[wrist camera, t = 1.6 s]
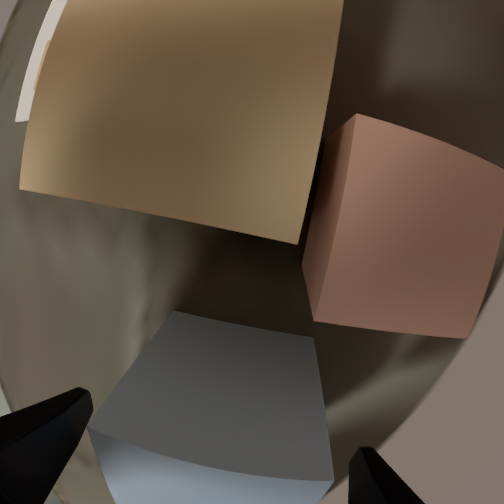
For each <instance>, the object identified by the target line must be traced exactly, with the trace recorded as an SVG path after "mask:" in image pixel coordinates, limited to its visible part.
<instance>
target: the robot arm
mask: <svg viewBox="0 0 504 504" xmlns="http://www.w3.org/2000/svg"><path fill="white" fill-rule="evenodd" d="M92 413H93V403H92V399H91V394H90V392H89V391H88V390H86V389H84V388H81V387H77V388H75V389H72V390H70V391H67V392H65V393H62V394H60V395H57V396H55V397H52V398H50V399H47V400H44V401H42V402H39V403H37V404H34V405H31V406H29V407H26V408H23V409H21V410H18V411H15V412H13V413H10V414H7V415H4V416H1V417H0V504H44V502H45V500H46V499H47V497H48V495H49V493H50V492H51V490H52V488H53V486H54V485H55V483H56V481H57V479H58V478H59V476H60V474H61V473H62V471H63V469H64V467H65V466H66V464H67V462H68V461H69V459H70V457H71V456H72V454H73V452H74V451H75V449H76V447H77V446H78V444H79V442H80V439H81V437H82V435H83V433H84V430H85V428H86V426H87V424H88V422H89V419H90V417H91V415H92ZM348 504H425V503H424V502H423V501H422V500H421V499H420V498H419V497H418V496H417V495H416V494H415V493H414V492H413V491H412V490H411V488H410V487H409V486H408V485H407V484H406V483H405V482H404V481H403V480H402V479H401V478H400V477H399V476H398V475H397V474H396V472H395V471H393V469H392V468H391V467H390V466H389V465H388V464H387V463H386V462H385V461H384V460H383V458H382V457H381V456H380V455H379V454H378V453H377V452H376V451H375V450H374V448H372V447H370V446H361V447H359V448H358V450H357V451H356V453H355V454H354V456H353V457H352V459H351V460H350V463H349V493H348Z"/></svg>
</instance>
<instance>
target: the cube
mask: <svg viewBox="0 0 504 504" xmlns="http://www.w3.org/2000/svg"><path fill="white" fill-rule="evenodd" d="M503 228H504V169H502V168H500V167H499V166H497V165H495V164H493V163H490V162H488V161H486V160H484V159H482V158H480V157H478V156H476V155H473V154H471V153H469V152H467V151H464V150H462V149H460V148H457V147H455V146H453V145H450V144H448V143H445V142H443V141H440V140H438V139H435V138H432V137H430V136H427V135H424V134H422V133H419V132H416V131H413V130H410V129H407V128H404V127H401V126H398V125H395V124H392V123H389V122H385V121H382V120H379V119H375V118H372V117H368V116H364V115H361V114H357V113H356V114H355V115H354V116H353V117H351V118H350V119H349V120H348V121H347V122H345V123H344V124H343V125H342V126H341V127H339V128H338V129H337V130H336V131H335V132H333V133H332V134H331V135H330V136H329V137H327V138H326V139H325V144H324V150H323V156H322V162H321V168H320V173H319V179H318V184H317V190H316V195H315V201H314V206H313V211H312V216H311V221H310V226H309V231H308V236H307V241H306V246H305V250H304V255H303V260H302V264H301V265H302V270H303V274H304V278H305V283H306V288H307V292H308V297H309V301H310V306H311V311H312V316H313V320H314V321H317V322H324V323H330V324H337V325H344V326H351V327H358V328H366V329H373V330H381V331H390V332H398V333H407V334H417V335H427V336H437V337H449V338H461V339H468V337H469V334H470V332H471V330H472V327H473V325H474V322H475V320H476V317H477V315H478V312H479V309H480V307H481V304H482V301H483V298H484V296H485V293H486V290H487V287H488V284H489V281H490V277H491V274H492V271H493V267H494V264H495V260H496V257H497V253H498V249H499V245H500V241H501V237H502V232H503Z"/></svg>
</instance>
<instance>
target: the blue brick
mask: <svg viewBox="0 0 504 504" xmlns="http://www.w3.org/2000/svg"><path fill="white" fill-rule="evenodd" d="M87 429H88V432H89V435H90V439H91V442H92V445H93V448H94V451H95V453H96V456H97V459H98V462H99V465H100V467H101V470H102V472H103V475H104V477H105V480H106V482H107V485H108V487H109V490H110V492H111V494H112V496H113V499H114V501H115V503H116V504H317V503H318V502H319V501H320V500H321V498H322V497H323V496H324V495H325V493H326V492H327V491H328V489H329V488H330V487H331V485H332V484H333V483H334V472H333V464H332V456H331V448H330V440H329V433H328V426H327V419H326V412H325V405H324V399H323V392H322V386H321V379H320V373H319V367H318V361H317V355H316V349H315V344H314V338H313V337H307V336H301V335H295V334H289V333H283V332H277V331H271V330H265V329H260V328H254V327H249V326H244V325H239V324H234V323H229V322H224V321H219V320H214V319H209V318H205V317H200V316H196V315H191V314H187V313H182V312H178V311H173V312H172V313H171V314H170V316H169V317H168V318H167V320H166V321H165V322H164V323H163V325H162V326H161V327H160V329H159V330H158V331H157V333H156V334H155V335H154V336H153V338H152V339H151V340H150V342H149V343H148V344H147V346H146V347H145V348H144V350H143V351H142V352H141V354H140V355H139V356H138V358H137V359H136V360H135V361H134V363H133V364H132V365H131V367H130V368H129V369H128V371H127V372H126V373H125V375H124V376H123V377H122V379H121V380H120V382H119V383H118V384H117V386H116V387H115V388H114V390H113V391H112V392H111V394H110V395H109V396H108V398H107V399H106V400H105V402H104V403H103V405H102V406H101V407H100V409H99V410H98V411H97V413H96V414H95V415H94V417H93V418H92V420H91V421H90V422H89V424H88V425H87Z"/></svg>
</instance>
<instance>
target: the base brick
mask: <svg viewBox="0 0 504 504" xmlns="http://www.w3.org/2000/svg"><path fill="white" fill-rule="evenodd" d="M343 2H344V0H68V1H67V3H66V5H65V7H64V9H63V11H62V14H61V16H60V18H59V21H58V23H57V26H56V28H55V31H54V33H53V36H52V38H51V41H50V44H49V47H48V50H47V52H46V55H45V58H44V62H43V65H42V68H41V71H40V75H39V78H38V82H37V85H36V89H35V93H34V97H33V101H32V106H31V110H30V115H29V120H28V125H27V131H26V136H25V143H24V149H23V157H22V165H21V174H20V186H19V189H21V190H27V191H33V192H38V193H44V194H49V195H55V196H60V197H66V198H71V199H76V200H82V201H87V202H92V203H98V204H103V205H108V206H113V207H118V208H124V209H129V210H134V211H139V212H144V213H149V214H154V215H159V216H164V217H169V218H174V219H179V220H184V221H188V222H193V223H198V224H203V225H208V226H213V227H217V228H222V229H227V230H232V231H236V232H241V233H246V234H250V235H255V236H260V237H264V238H269V239H274V240H278V241H283V242H287V243H292V244H296V245H298V241H299V236H300V232H301V228H302V224H303V219H304V215H305V210H306V206H307V201H308V197H309V192H310V188H311V183H312V179H313V174H314V169H315V164H316V159H317V155H318V150H319V145H320V140H321V135H322V129H323V124H324V119H325V114H326V108H327V103H328V97H329V92H330V86H331V80H332V75H333V69H334V63H335V56H336V50H337V44H338V37H339V31H340V24H341V17H342V9H343Z"/></svg>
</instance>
